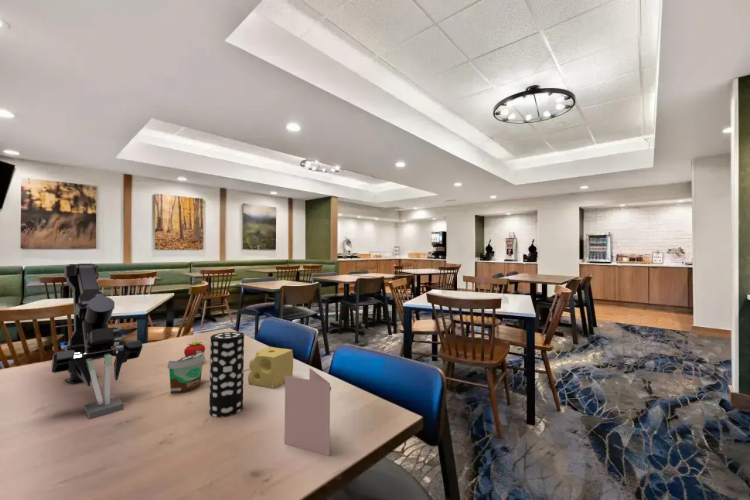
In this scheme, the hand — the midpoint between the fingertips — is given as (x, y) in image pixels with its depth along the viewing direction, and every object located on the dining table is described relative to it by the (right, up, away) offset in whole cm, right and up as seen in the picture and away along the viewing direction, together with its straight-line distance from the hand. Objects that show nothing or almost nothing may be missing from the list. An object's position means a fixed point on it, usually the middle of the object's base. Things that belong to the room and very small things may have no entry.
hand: (103, 382), depth 86 cm
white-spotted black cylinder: (+32, -8, +2) cm, 33 cm away
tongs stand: (-1, -8, +1) cm, 8 cm away
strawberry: (+3, -9, +38) cm, 39 cm away
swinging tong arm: (-1, -6, +1) cm, 6 cm away
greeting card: (+57, -8, -15) cm, 59 cm away
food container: (+14, -9, +16) cm, 23 cm away
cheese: (+37, -9, +22) cm, 45 cm away
